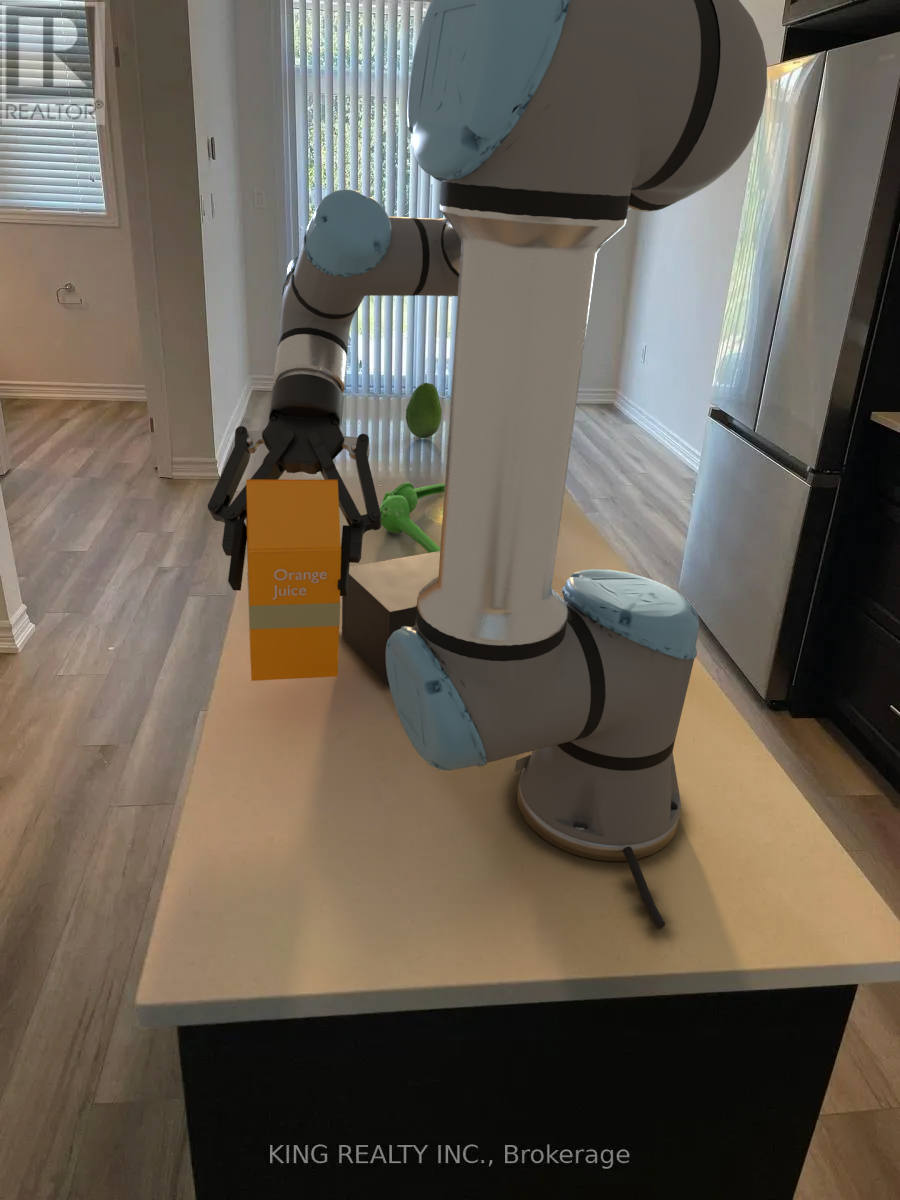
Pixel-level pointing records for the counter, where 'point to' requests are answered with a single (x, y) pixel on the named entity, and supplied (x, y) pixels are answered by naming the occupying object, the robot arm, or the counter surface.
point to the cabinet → (383, 603)
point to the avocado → (424, 411)
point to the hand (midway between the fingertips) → (288, 588)
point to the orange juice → (293, 578)
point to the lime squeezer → (407, 512)
